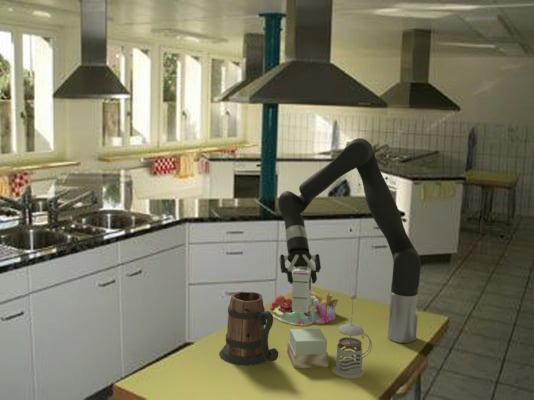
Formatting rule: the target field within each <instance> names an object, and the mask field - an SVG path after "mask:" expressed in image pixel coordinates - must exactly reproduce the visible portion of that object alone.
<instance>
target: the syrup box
mask: <svg viewBox="0 0 534 400" xmlns="http://www.w3.org/2000/svg"><path fill="white" fill-rule="evenodd" d="M292 277H293V283H292V284H291V285H292V286H291V287H292V289H291V290H292V291H291V292H292V293H291V300H292V311H295V312H305V313H308V311H309V309H310V304H311V291H312V278H311V268H310V267H301V266H298V267H294V268H293V269H292Z"/></svg>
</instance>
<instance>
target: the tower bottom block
mask: <svg viewBox="0 0 534 400" xmlns="http://www.w3.org/2000/svg"><path fill="white" fill-rule="evenodd" d="M286 348H287V349H286V354H287V356H288V358H289V360H290V363H291V365H292V367H293V369H305V368H307V369H308V368H309V369H310V368H328V367H329V353H328V351H327V352H326V354H315V355H295V353H294V351H293V349H292V346H291V344H290V341H287V347H286Z"/></svg>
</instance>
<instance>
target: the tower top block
mask: <svg viewBox="0 0 534 400" xmlns="http://www.w3.org/2000/svg"><path fill="white" fill-rule="evenodd" d="M289 342H290V344H291V346H292V349H293V351H294V353H295V355H315V354H326V352H327V353H328V351H327V349H328V348H327V347H328V340H327V338H326V337H325V335H324V333H323V331H322V330H321V328H290V329H289Z"/></svg>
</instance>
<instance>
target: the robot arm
mask: <svg viewBox="0 0 534 400" xmlns="http://www.w3.org/2000/svg"><path fill="white" fill-rule="evenodd" d="M376 158H377V157H376V154H375V152H374V148H373V145H372V144H371V143H370V142H369V141H368V140H367V139H366V138H361V137H359V138H355V139H353V140H351V141H350V142H348V143H347V144H346V145H345V147H344V148H343V149H342V150H341V152H340V153H339V154H338V155H337V156H335V158H333V160H331V161H330V162H329V163H328V164H327V165H326V166H323V167H322V168H321V169H319V170H317V172H315V173H314V174H312V175H311V176H309V177H308V178H307V179H306V180H305V181H303V182H302V183H301V184H300V185H299V188H298V191H299V193H300V195H297V194H296V193H294V192H292V191H290V190H285V191H283V192H282V193H280V195H279V196H278V200H277V203H278V204H277V205H278V209H279V211H280V214H281V217H282V219H283V221H284V228H285V241H286V247H287V248H286V249H287V255H284V254H280V257H279V265H280V273H282V274H286V278H287V282H288V283H289V284H290V285H292V283H293V270H294V269H295V267H298V266H301V267H310V268H311V284H316V283H317V280H318V276H317V273H320V272H321V271H320V270H321V269H322V266H321V259H320V255H319V254H318V253H316V254H315V255H314V254H313V255H311V253H310V247H309V241H308V234H307V231H306V226H305V225H306V224H305V219H304V217H303V215H302V213H304V212H305V210H306V209H307V208H308V206H309V205H310V204H311V203H312V201H313V200H314V198H317V197H318V196H319V195H320V194H322V193H323V192H324V191H325V190H327V189H329V187H330V186H332V184H334V183H335V182H337V180H339V179H340V178H341V177H343V176H344V175H346V174H347V173H349V172H352V171H354V170H355V169H356V170H357V173H358V174H359V176H360V178H361V179H360V180H361V181H362V186H363V190H364V191H363V192H364V198H365V200H366V204H367V206H368V209H369V211H370V214H371V216H372V218H373V220H374V222H375V224H376V226H377V227H378V228H379V231H381V233H382V235H383V236H384V237H385V239H386V242H387V244H388V246H389V249H390V253H391V255H392V261H393V264H392V265H393V266H392V279H391V285H390V286H391V287H390V289H391V290H390V301H389V302H390V303H389V310H388V311H389V313H388V327H387V338H388V339H389V340H390V341H392V342H395V343H400V344H408V343H412V342H416V340H417V330H418V318H419V316H418V314H417V303H418V294H419V293H418V292H419V287H420V286H419V285H420V279H421V277H420V276H421V266H422V265H421V264H422V263H421V262H422V261H421V258H420V255H419V253H418V251H417V249H416V248H415V247H414V245H413V243H412V241H411V239H410V238H409V236H408V234H407V232H406V229H405V226H404V223H403V219H402V216H401V212H400V210H399V207H398V205H397V203H396V201H395V199H394V196H393V194H392V191H391V190H390V188H389V186H388V183H387V182H386V180H385V177H384V176H383V174H382V172H381V170H380V167H379V165H378V161H377V159H376ZM311 260H312V261H311ZM287 261H288V262H289V265H288V267H286V262H287ZM312 262H314V265H313V263H312Z"/></svg>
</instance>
